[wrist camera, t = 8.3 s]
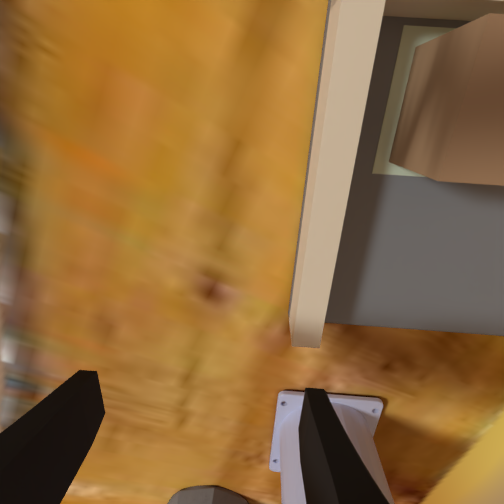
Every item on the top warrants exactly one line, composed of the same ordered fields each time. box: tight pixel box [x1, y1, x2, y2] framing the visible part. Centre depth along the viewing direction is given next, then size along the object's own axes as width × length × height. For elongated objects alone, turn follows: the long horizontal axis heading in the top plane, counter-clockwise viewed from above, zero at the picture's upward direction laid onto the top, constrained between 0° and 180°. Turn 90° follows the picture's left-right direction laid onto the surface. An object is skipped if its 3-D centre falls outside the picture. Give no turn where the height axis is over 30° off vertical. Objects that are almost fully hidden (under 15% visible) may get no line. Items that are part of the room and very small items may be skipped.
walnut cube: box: [389, 13, 504, 186], centre depth 12 cm, size 5×5×5 cm
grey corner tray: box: [288, 0, 504, 348], centre depth 16 cm, size 18×16×3 cm
